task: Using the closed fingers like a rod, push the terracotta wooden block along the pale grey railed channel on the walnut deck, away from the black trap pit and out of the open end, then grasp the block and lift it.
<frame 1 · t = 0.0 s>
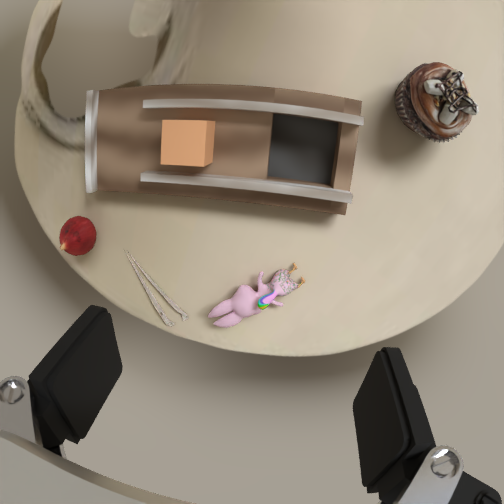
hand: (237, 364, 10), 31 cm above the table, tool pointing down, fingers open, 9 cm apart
tweezers: (149, 278, 47), on the table
trap tube: (215, 140, 37), on the table
onion: (91, 227, 44), on the table
cupcake: (420, 104, 32), on the table
block: (193, 140, 34), point 3 cm above the table, touching trap tube
pink plastic figure: (255, 290, 45), on the table
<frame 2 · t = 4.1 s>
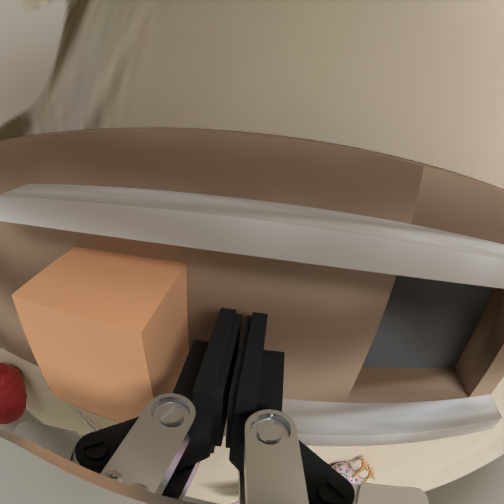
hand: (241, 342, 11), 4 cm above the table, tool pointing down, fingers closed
trap tube: (214, 283, 14), on the table
onion: (19, 368, 22), on the table
block: (131, 308, 12), point 3 cm above the table, touching gripper
pink plastic figure: (293, 475, 23), on the table
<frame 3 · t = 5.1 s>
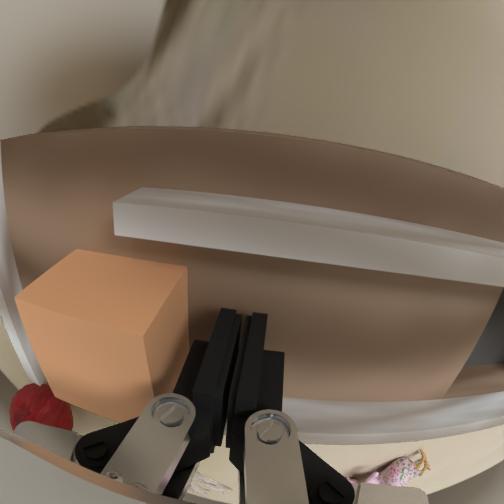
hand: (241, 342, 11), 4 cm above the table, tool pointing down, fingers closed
tweezers: (166, 450, 24), on the table
trap tube: (336, 298, 14), on the table
onion: (61, 387, 21), on the table
block: (132, 310, 12), point 3 cm above the table, touching gripper, trap tube
pink plastic figure: (353, 475, 22), on the table
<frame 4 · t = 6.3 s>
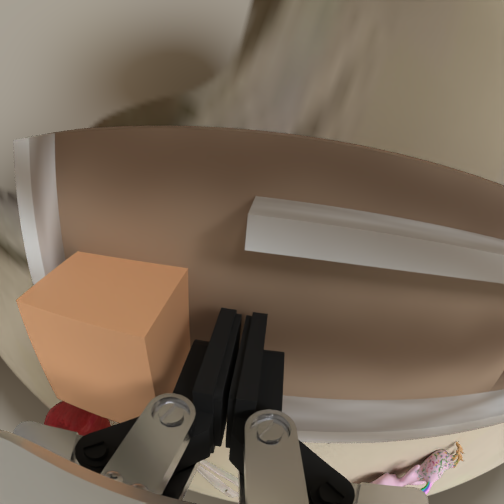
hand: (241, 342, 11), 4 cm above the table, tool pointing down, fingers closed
tweezers: (206, 457, 24), on the table
trap tube: (408, 303, 14), on the table
onion: (97, 401, 21), on the table
block: (133, 312, 12), point 3 cm above the table, touching gripper, trap tube
pink plastic figure: (391, 470, 22), on the table
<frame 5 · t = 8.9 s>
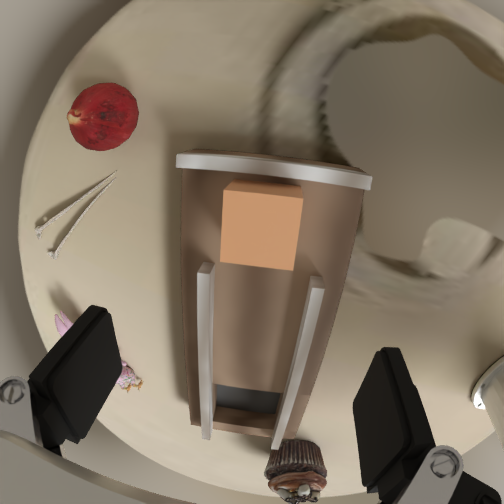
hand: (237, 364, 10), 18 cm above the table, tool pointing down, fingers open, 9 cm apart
tweezers: (85, 204, 29), on the table
trap tube: (256, 324, 31), on the table
onion: (126, 115, 24), on the table
cupcake: (296, 450, 41), on the table
block: (264, 214, 23), point 3 cm above the table, touching trap tube
pink plastic figure: (104, 344, 36), on the table
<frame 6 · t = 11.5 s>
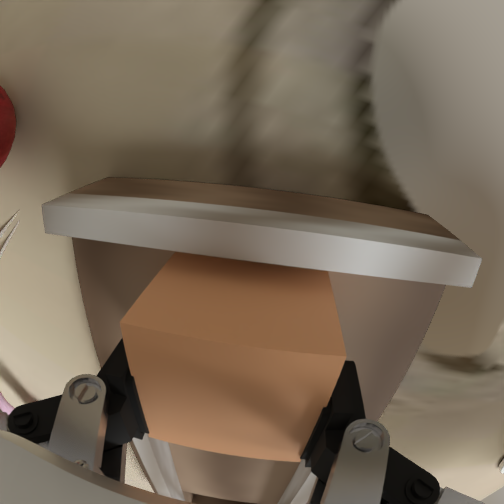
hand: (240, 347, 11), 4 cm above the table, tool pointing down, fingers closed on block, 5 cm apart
trap tube: (238, 436, 19), on the table
onion: (15, 124, 12), on the table
block: (244, 324, 11), point 3 cm above the table, touching gripper, trap tube
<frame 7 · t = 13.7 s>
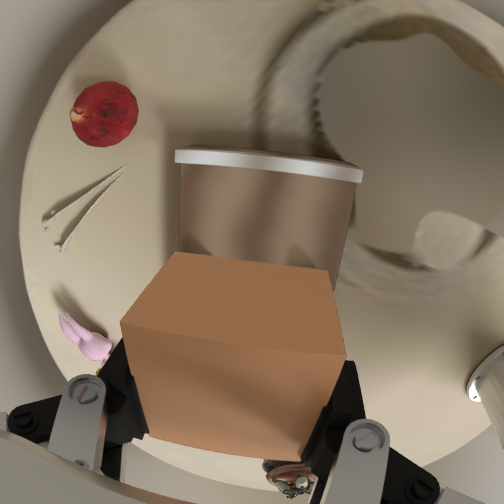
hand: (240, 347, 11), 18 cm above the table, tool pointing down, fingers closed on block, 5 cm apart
tweezers: (94, 197, 29), on the table
trap tube: (253, 316, 32), on the table
onion: (125, 113, 25), on the table
cupcake: (293, 442, 43), on the table
block: (244, 323, 11), point 18 cm above the table, touching gripper
pink plastic figure: (108, 342, 37), on the table
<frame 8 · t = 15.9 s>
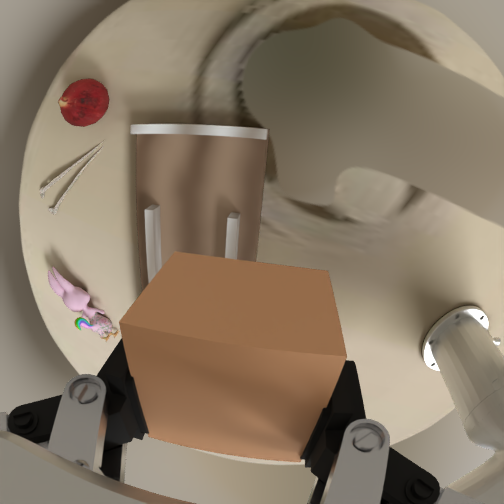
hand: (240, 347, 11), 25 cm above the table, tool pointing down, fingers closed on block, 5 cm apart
tweezers: (81, 167, 35), on the table
trap tube: (199, 263, 38), on the table
onion: (102, 102, 31), on the table
block: (244, 323, 11), point 25 cm above the table, touching gripper
pink plastic figure: (88, 298, 44), on the table
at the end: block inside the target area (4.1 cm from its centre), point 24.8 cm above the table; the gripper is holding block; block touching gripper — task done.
